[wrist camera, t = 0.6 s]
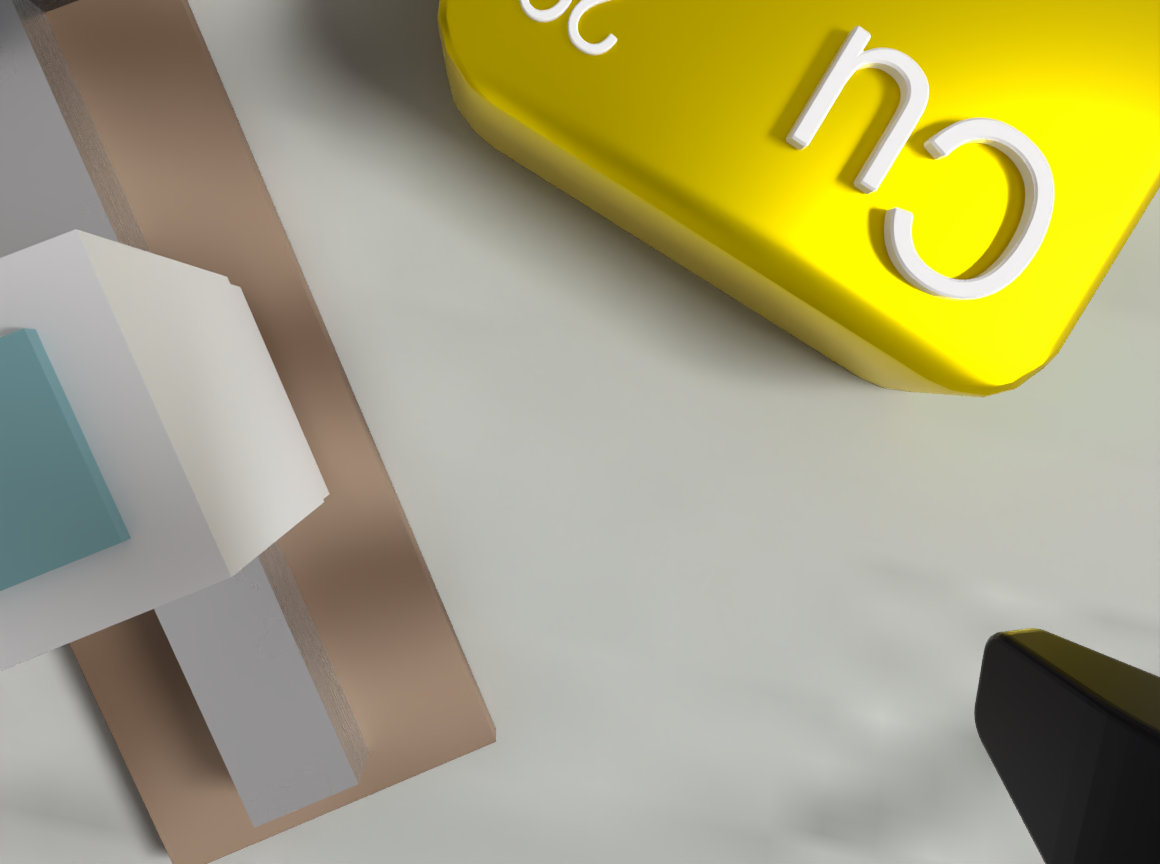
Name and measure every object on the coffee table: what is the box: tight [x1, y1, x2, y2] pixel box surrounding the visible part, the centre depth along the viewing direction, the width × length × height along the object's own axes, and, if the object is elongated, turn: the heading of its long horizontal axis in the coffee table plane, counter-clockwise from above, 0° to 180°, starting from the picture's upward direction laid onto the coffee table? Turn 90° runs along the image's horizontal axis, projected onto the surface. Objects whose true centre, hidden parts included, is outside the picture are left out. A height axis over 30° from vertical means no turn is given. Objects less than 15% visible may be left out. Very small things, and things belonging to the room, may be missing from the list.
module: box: [0, 229, 329, 671], centre depth 17 cm, size 5×6×9 cm
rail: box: [0, 0, 369, 828], centre depth 19 cm, size 20×7×5 cm, turn 22°
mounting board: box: [45, 0, 496, 864], centre depth 22 cm, size 22×8×1 cm, turn 22°
